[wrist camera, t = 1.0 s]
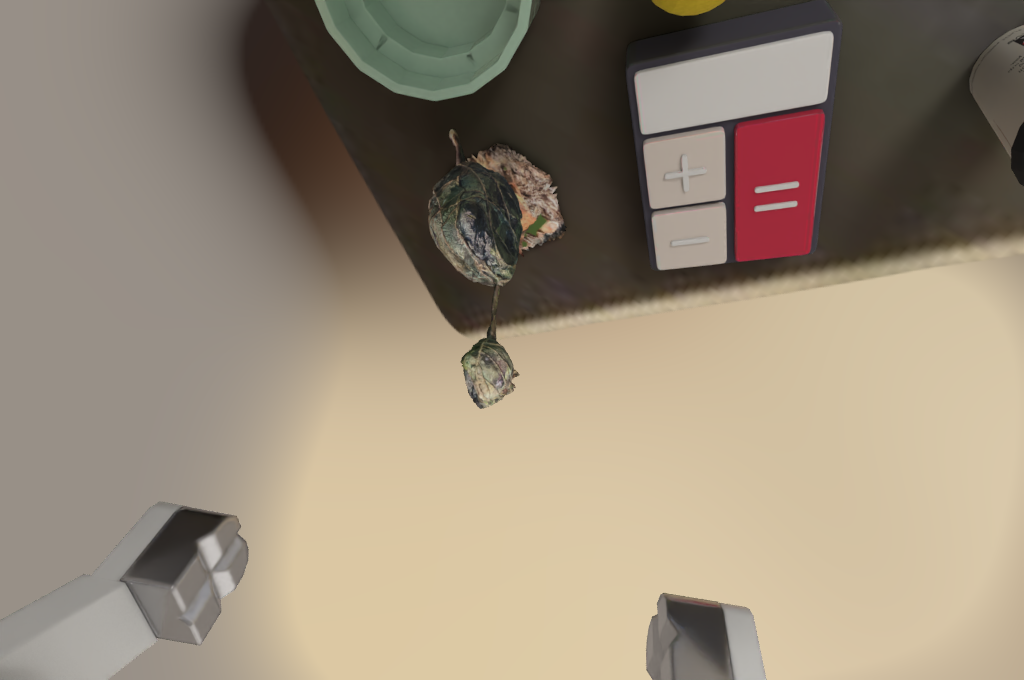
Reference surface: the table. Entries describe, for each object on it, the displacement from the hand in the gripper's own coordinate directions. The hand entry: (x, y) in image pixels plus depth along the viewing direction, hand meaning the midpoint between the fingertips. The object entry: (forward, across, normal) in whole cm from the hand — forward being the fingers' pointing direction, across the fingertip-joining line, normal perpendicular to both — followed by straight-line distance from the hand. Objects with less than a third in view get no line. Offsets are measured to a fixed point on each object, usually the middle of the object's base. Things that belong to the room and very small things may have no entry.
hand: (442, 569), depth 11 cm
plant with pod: (+35, +5, +5) cm, 36 cm away
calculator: (+34, -10, 0) cm, 36 cm away
